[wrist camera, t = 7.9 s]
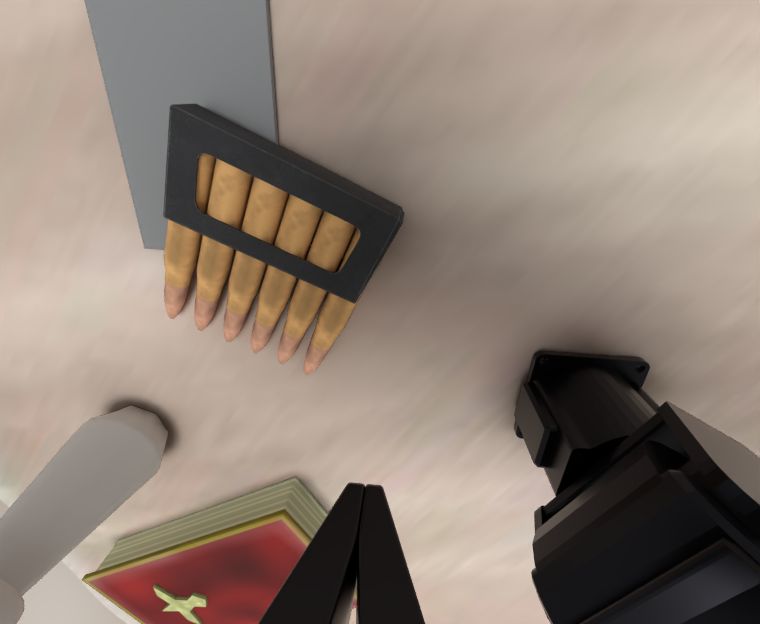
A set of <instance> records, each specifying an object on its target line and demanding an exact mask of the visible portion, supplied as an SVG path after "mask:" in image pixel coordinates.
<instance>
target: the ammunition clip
mask: <svg viewBox="0 0 760 624" xmlns="http://www.w3.org/2000/svg"><path fill="white" fill-rule="evenodd" d="M250 191H251V192H250ZM289 194H290V195H289ZM249 195H250V196H249ZM288 197H289V198H288ZM248 199H249V200H248ZM287 200H288V202H287ZM247 203H248V204H247ZM286 203H287V205H286ZM246 206H247V208H246ZM285 206H286V208H285ZM284 209H285V211H284ZM245 210H246V212H245ZM323 210H324V213H323V215H322V212H323ZM283 212H284V215H283ZM321 215H322V218H321V221H320V223H319V220H320V217H321ZM282 216H283V218H282ZM163 217H164V218H166V219H168V225H167V234H166V243H165V251H164V262H165V269H166V271H165V289H164V300H165V307H166V311H167V314H168V316H169V317H170V318H171V319H174V318H175V317H176V316H177V315H178V313H179V312H180V310H181V309H182V307H183V305H184V302H185V299H186V296H187V293H188V288H189V284H190V282H191V278H192V274H193V271H194V269H195V267H196V265H197V289H196V299H195V322H196V326H197V328H198V330H200V331H202V330H203V329H205V328H206V326H207V325H208V324H209V322H210V320H211V319H212V317H213V315H214V312H215V310H216V307H217V304H218V300H219V297H220V295H221V292H222V289H223V286H224V284H225V282H226V280H227V278H228V276H229V273H230V269H231V265H232V261H233V257H234V253H235V250H236V253H235V258H234V262H233V266H232V270H231V274H230V278H229V283H228V293H229V294H228V300H227V307H226V311H225V317H224V336H225V339H226V341H227V342H231V341H232V340H233V339H234V338H235V337H236V336H237V334H238V333H239V331H240V330H241V328H242V326H243V324H244V321H245V319H246V316H247V313H248V311H249V309H250V306H251V303H252V301H253V299H254V298H255V296H256V294H257V292H258V290H259V288H260V285H261V281H262V278H263V275H264V272H265V269H266V266H267V264H268V267H267V270H266V273H265V277H264V280H263V283H262V286H261V290H260V293H259V298H258V309H257V313H256V319H255V322H254V325H253V330H252V337H251V344H252V350H253V353H258V352H259V351H260V350H261V349H262V348H263V347H264V346H265V344H266V343H267V342H268V340H269V338H270V336H271V334H272V332H273V330H274V327H275V325H276V323H277V321H278V319H279V317H280V314H281V313H282V312H283V310H284V309H285V307H286V306H287V303H288V301H289V298H290V296H291V293H292V290H293V288H294V285H295V283H296V280H297V278H299V280H298V283H297V285H296V288H295V291H294V293H293V296H292V299H291V301H290V304H289V308H288V313H287V320H286V323H285V326H284V331H283V333H282V336H281V340H280V344H279V349H278V360H279V363H280V364H283V363H285V362H286V361H287V360H288V359H289V358H290V357H291V356H292V355H293V354H294V352H295V351H296V349H297V347H298V346H299V344H300V342H301V340H302V338H303V336H304V334H305V332H306V331H307V329H308V327H309V325H310V324H311V323H312V321H313V320H314V319H315V317H316V315H317V313H318V310H319V308H320V306H321V304H322V302H323V299H324V297H325V295H326V293H327V292H329V293H328V295H327V297H326V299H325V302H324V304H323V306H322V309H321V311H320V313H319V315H318V318H317V322H316V328H315V331H314V334H313V336H312V340H311V342H310V345H309V347H308V350H307V354H306V357H305V363H304V372H305V374H306V375H308V374H310V373H312V372H313V371H314V370H315V369H316V368H317V367H318V366H319V365H320V363H321V362H322V360H323V359H324V357H325V356H326V354H327V352H328V350H329V349H330V347H331V346H332V344H333V342H334V341H335V339H336V338H337V337H338V336H339V334H340V333H341V332H342V330H343V329H344V327H345V325H346V323H347V321H348V319H349V317H350V315H351V313H352V312H353V310H354V308H355V306H356V304H357V302H358V300H359V298H360V296H361V294H362V292H363V290H364V288H365V286H366V285H367V283H368V281H369V280H370V278H371V276H372V274H373V273H374V271H375V269H376V268H377V266H378V264H379V262H380V261H381V259H382V257H383V256H384V254H385V252H386V251H387V249H388V247H389V245H390V244H391V242H392V240H393V239H394V237H395V235H396V233H397V232H398V230H399V228H400V227H401V225H402V223H403V217H404V212H403V210H402V207H400V206H398V205H396V204H394V203H392V202H390V201H388V200H386V199H384V198H382V197H380V196H378V195H376V194H374V193H372V192H370V191H368V190H366V189H364V188H362V187H360V186H358V185H356V184H354V183H352V182H350V181H348V180H346V179H344V178H342V177H340V176H338V175H336V174H334V173H332V172H331V171H329V170H327V169H325V168H323V167H321V166H319V165H317V164H315V163H313V162H311V161H309V160H307V159H305V158H303V157H301V156H299V155H297V154H295V153H293V152H291V151H289V150H287V149H285V148H283V147H281V146H279V145H277V144H275V143H273V142H271V141H269V140H267V139H265V138H263V137H261V136H259V135H258V134H256V133H254V132H252V131H250V130H248V129H246V128H244V127H242V126H240V125H238V124H236V123H234V122H232V121H230V120H228V119H226V118H224V117H222V116H220V115H218V114H216V113H214V112H212V111H210V110H208V109H206V108H204V107H202V106H200V105H198V104H174V105H171V106H170V112H169V129H168V145H167V161H166V178H165V194H164V210H163ZM281 219H282V221H281ZM280 222H281V224H280ZM318 223H319V226H318V229H317V231H316V234H315V237H314V240H313V242H312V245H310V243H311V241H312V238H313V236H314V233H315V230H316V228H317V225H318ZM279 225H280V228H279ZM356 227H357V229H356V231H355V233H354V230H355V228H356ZM278 228H279V230H278ZM353 233H354V235H353ZM352 235H353V238H352V240H351V242H350V239H351V237H352ZM349 242H350V245H349V247H348V249H347V251H346V254H345V256H344V258H342V257H343V255H344V253H345V250H346V248H347V246H348V244H349ZM198 258H199V259H198ZM197 262H198V264H197Z"/></svg>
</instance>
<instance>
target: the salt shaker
mask: <svg viewBox="0 0 760 624" xmlns="http://www.w3.org/2000/svg"><path fill="white" fill-rule="evenodd" d="M167 437H168V431H167V430H166V428H165V427H164V425H163V424H162V422H161V421H160V419H159V418H158V416H157V415H156V414H154V413H151V412H149V411H146V410H143V409H140V408H137V407H135V406H132V405H131V406H128V407H126V408H123V409H121V410H119V411H116V412H112V413H109V414H105V415H102V416H98V417H95V418H91V419H90V420H88V421H87V422H85V423H84V424H83V425H82V426H81V427H80V428H79V429H78V430H77V431H76V432H75V433H74V434H73V435H72V436H71V438H70V439H69V440H68V441H67V442H66V443H65V444H64V446H63V447H62V448H61V449H60V450H59V451H58V453H57V454H56V455H55V456H54V457H53V458H52V459H51V461H50V462H49V463H48V464H47V465H46V466H45V468H44V469H43V470H42V471H41V472H40V473H39V474H38V476H37V477H36V478H35V479H34V480H33V481H32V483H31V484H30V485H29V486H28V487H27V488H26V489H25V491H24V492H23V493H22V494H21V495H20V496H19V498H18V499H17V500H16V501H15V502H14V503H13V504H12V506H11V507H10V508H9V509H8V510H7V511H6V513H5V514H4V515H3V516H2V517H1V518H0V624H16V623H17V622H18V621H19V619H20V617H21V615H22V613H23V611H24V600H23V598H22V596H23V595H24V594H25V593H26V592H27V591H28V590H29V589H30V588H31V587H32V586H34V585H35V584H36V583H37V582H38V581H39V580H40V579H41V578H42V577H43V576H44V575H45V574H47V573H48V572H49V571H50V570H51V569H52V568H53V567H54V566H55V565H56V564H58V563H59V562H60V561H61V560H62V559H63V558H64V557H65V556H66V555H67V554H68V553H70V552H71V551H72V550H73V549H74V548H75V547H76V546H77V545H78V544H79V543H80V542H82V541H83V540H84V539H85V538H86V537H87V536H88V535H89V534H90V533H91V532H92V531H94V530H95V529H96V528H97V527H98V526H99V525H100V524H101V523H102V522H103V521H104V520H106V519H107V518H108V517H109V516H110V515H111V514H112V513H113V512H114V511H115V510H116V509H117V508H119V507H120V506H121V505H122V504H123V503H124V502H125V501H126V500H127V499H128V498H129V497H131V496H132V495H133V494H134V493H135V492H136V491H137V490H138V489H139V488H141V487H142V486H143V485H144V484H145V483H146V482H147V481H148V480H150V479H151V478H152V477H153V476H154V475H155V474H156V473H157V471H158V469H159V468H160V464H161V460H162V456H163V452H164V448H165V444H166V440H167Z"/></svg>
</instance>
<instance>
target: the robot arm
mask: <svg viewBox="0 0 760 624" xmlns="http://www.w3.org/2000/svg"><path fill="white" fill-rule="evenodd" d="M542 358H546V359H545V360H544V361H541V362H540V359H542ZM639 365H641V366H640V367H639V368H637V367H638V366H639ZM636 368H637V369H636ZM649 369H650V366H649V364H648V363H647V362H646V361H645V360H643V359H642V358H634V357H621V356H607V355H594V354H581V353H568V352H554V351H539V352H537V353H536V354H535V355H534V357H533V360H532V363H531V367H530V371H529V375H528V378H527V381H526V382H525V383H524V384H523V385H522V388H521V392H520V395H519V399H518V403H517V407H516V411H515V418H516V423H515V427H514V430H515V433H516V435H517V437H519V438H522V439H524V440H525V443H526V445H527V448H528V450H529V453H530V455H531V458H532V460H533V463H534V464H535V465H536V466H537V467H542V468H544V470H545V472H546V474H547V477H548V479H549V481H550V484H551V486H552V488H553V491H554V493H555V495H556V497H555V498H554V499H553V500H551V501H550V502H549V503H548V504H547V505H545V506H541V507H539V508H538V509H537V510H536V511H535V512H534V517H535V536H534V540H533V552H534V561H535V567H536V568H535V569H533V570H532V572H531V574H532V580H533V583H534V586H535V589H536V592H537V594H538V597H539V600H540V602H541V604H542V606H543V608H544V611H545V613H546V615H547V618H548V619H549V621H550V623H551V624H760V458H759V457H758V456H757V455H755V454H754V453H753V452H752V451H750V450H749V449H748V448H747V447H745V446H744V445H742V444H741V443H739V442H737V441H736V440H734V439H732V438H730V437H729V436H727V435H725V434H724V433H722V432H720V431H718V430H717V429H715V428H713V427H711V426H710V425H708V424H706V423H704V422H703V421H701V420H699V419H697V418H696V417H694V416H692V415H690V414H689V413H687V412H685V411H684V410H682V409H680V408H678V407H677V406H675V405H673V404H671V403H670V402H668V401H666V402H665V403H664V404H663V405H661V406H660V407H659V406H658V405H657V404H656V403H655V402H654V401H653V400H652V399H651V398H650V397H649V396H648V395H647V394H646V393H645V392H644V390H643V389H642V388H641V387H642V385H643V383H644V381H645V378H646V376H647V374H648V371H649ZM356 584H357V599H356V624H425V622H424V618H423V615H422V612H421V609H420V605H419V602H418V599H417V596H416V592H415V589H414V586H413V583H412V579H411V576H410V573H409V570H408V567H407V563H406V560H405V557H404V554H403V550H402V547H401V544H400V541H399V537H398V534H397V531H396V528H395V524H394V521H393V518H392V515H391V512H390V508H389V505H388V502H387V499H386V495H385V492H384V489H383V487H382V486H381V485H372V484H368V485H366V486H365V485H364V484H362V483H348V484H347V486H346V487H345V489H344V490H343V492H342V493H341V495H340V496H339V498H338V499H337V501H336V503H335V504H334V506H333V507H332V509H331V510H330V512H329V513H328V515H327V517H326V518H325V520H324V521H323V523H322V524H321V526H320V527H319V529H318V531H317V532H316V534H315V535H314V537H313V538H312V540H311V541H310V543H309V545H308V546H307V548H306V549H305V551H304V552H303V554H302V556H301V557H300V559H299V560H298V562H297V563H296V565H295V566H294V568H293V570H292V571H291V573H290V574H289V576H288V577H287V579H286V580H285V582H284V584H283V585H282V587H281V588H280V590H279V591H278V593H277V594H276V596H275V598H274V599H273V601H272V602H271V604H270V605H269V607H268V608H267V610H266V612H265V613H264V615H263V616H262V618H261V619H260V621H259V622H258V624H349V620H350V615H351V611H352V606H353V601H354V596H355V590H356Z"/></svg>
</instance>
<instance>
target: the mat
mask: <svg viewBox="0 0 760 624" xmlns="http://www.w3.org/2000/svg"><path fill="white" fill-rule="evenodd" d="M85 4H86V8H87V13H88V17H89V21H90V25H91V29H92V33H93V37H94V42H95V46H96V50H97V54H98V58H99V62H100V66H101V70H102V75H103V79H104V83H105V87H106V91H107V95H108V99H109V104H110V108H111V112H112V116H113V120H114V124H115V128H116V133H117V137H118V141H119V145H120V149H121V153H122V157H123V161H124V166H125V170H126V174H127V178H128V182H129V186H130V190H131V195H132V199H133V203H134V207H135V211H136V215H137V219H138V224H139V228H140V232H141V236H142V240H143V244H144V248H145V249H160V250H165V243H166V234H167V225H168V219H166V218H164V217H163V210H164V194H165V178H166V161H167V145H168V129H169V112H170V106H171V105H174V104H198V105H200V106H202V107H204V108H206V109H208V110H210V111H212V112H214V113H216V114H218V115H220V116H222V117H224V118H226V119H228V120H230V121H232V122H234V123H236V124H238V125H240V126H242V127H244V128H246V129H248V130H250V131H252V132H254V133H256V134H258V135H259V136H261V137H263V138H265V139H267V140H269V141H271V142H273V143H275V144H277V145H279V142H278V128H277V113H276V99H275V85H274V70H273V56H272V42H271V27H270V13H269V0H85ZM250 192H251V191H250ZM249 196H250V195H249ZM248 200H249V199H248ZM247 204H248V203H247ZM246 208H247V206H246ZM245 212H246V210H245ZM283 215H284V214H283ZM282 218H283V216H282ZM281 221H282V219H281ZM280 224H281V222H280ZM279 228H280V225H279ZM279 228H278V230H279ZM235 253H236V250H235ZM235 253H234V254H235Z"/></svg>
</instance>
